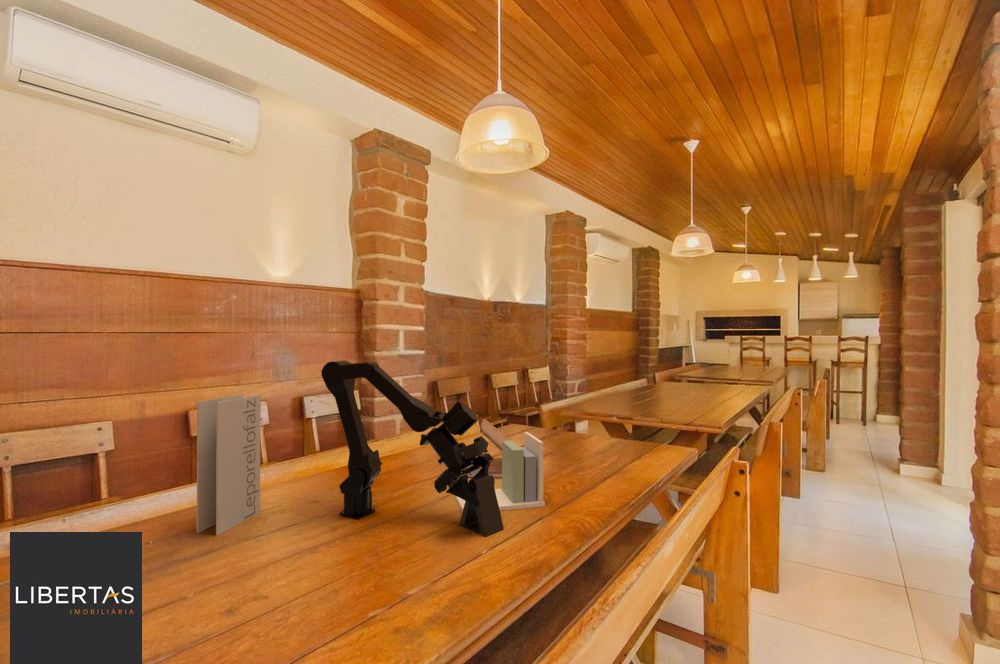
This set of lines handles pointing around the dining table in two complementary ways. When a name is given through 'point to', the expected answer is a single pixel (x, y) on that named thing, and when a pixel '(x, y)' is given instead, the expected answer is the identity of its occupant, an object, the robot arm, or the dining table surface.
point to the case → (496, 439)
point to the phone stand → (482, 508)
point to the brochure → (228, 461)
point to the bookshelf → (520, 475)
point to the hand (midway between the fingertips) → (486, 500)
